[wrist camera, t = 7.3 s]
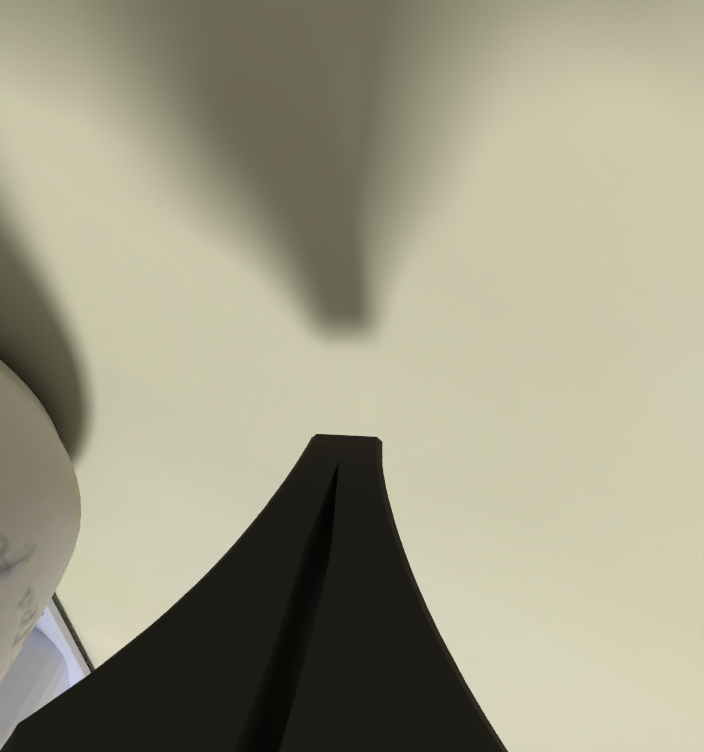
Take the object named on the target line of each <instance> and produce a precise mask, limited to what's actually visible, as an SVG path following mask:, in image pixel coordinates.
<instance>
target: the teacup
mask: <svg viewBox="0 0 704 752" xmlns="http://www.w3.org/2000/svg"><path fill="white" fill-rule="evenodd" d="M80 520H81V499H80V492H79V486H78V481H77V478H76V475H75V472H74V469H73V466H72V463H71V461H70V458H69V455H68V453H67V451H66V450H65V448H64V446H63V444H62V442H61V440H60V439H59V436H58V433H57V431H56V428H55V426H54V424H53V422H52V420H51V419H50V417H49V415H48V414H47V412H46V410H45V408H44V407H43V406H42V404H41V403H40V401H39V400H38V398H37V397H36V396H35V395H34V393H33V392H32V391H31V390H30V388H29V387H28V386H27V385H26V384H25V383H24V382H23V381H22V380H21V379H20V378H19V377H18V376H17V375H16V373H15V372H13V371H12V370H11V369H10V368H9V367H8V366H7V365H6V364H4V363H3V362H2V361H1V360H0V682H1V681H2V679H3V678H4V676H5V674H6V673H7V671H8V670H9V668H10V666H11V665H12V663H13V662H14V660H15V658H16V657H17V655H18V654H19V652H20V650H21V649H22V647H23V646H24V644H25V642H26V640H27V639H28V637H29V635H30V634H31V632H32V630H33V629H34V627H35V625H36V624H37V622H38V620H39V619H40V617H41V615H42V614H43V612H44V610H45V608H46V607H47V605H48V603H49V601H50V600H51V598H52V596H53V594H54V592H55V591H56V589H57V587H58V584H59V582H60V580H61V578H62V576H63V574H64V572H65V570H66V568H67V566H68V564H69V561H70V559H71V556H72V554H73V551H74V548H75V545H76V541H77V537H78V533H79V529H80Z"/></svg>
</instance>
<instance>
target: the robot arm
mask: <svg viewBox="0 0 704 752" xmlns="http://www.w3.org/2000/svg"><path fill="white" fill-rule="evenodd" d="M0 752H508V751H507V749H506V748H505V746H504V745H503V743H502V742H501V740H500V738H499V737H498V735H497V734H496V732H495V730H494V729H493V727H492V726H491V724H490V722H489V721H488V719H487V718H486V716H485V714H484V713H483V711H482V709H481V707H480V706H479V704H478V702H477V701H476V699H475V697H474V696H473V694H472V692H471V690H470V689H469V687H468V685H467V684H466V682H465V680H464V678H463V676H462V674H461V673H460V671H459V669H458V667H457V665H456V663H455V661H454V659H453V658H452V656H451V654H450V652H449V650H448V648H447V646H446V644H445V643H444V641H443V639H442V637H441V635H440V633H439V631H438V629H437V627H436V625H435V623H434V620H433V618H432V616H431V614H430V612H429V610H428V608H427V606H426V603H425V601H424V599H423V596H422V594H421V592H420V590H419V587H418V585H417V583H416V580H415V578H414V575H413V573H412V570H411V568H410V565H409V562H408V560H407V557H406V554H405V551H404V548H403V546H402V543H401V540H400V537H399V534H398V531H397V527H396V524H395V521H394V517H393V513H392V510H391V506H390V502H389V499H388V494H387V490H386V485H385V480H384V474H383V467H382V441H381V440H380V439H378V438H377V437H367V436H347V435H327V434H316V435H315V436H314V437H312V438H311V440H310V442H309V443H308V445H307V447H306V449H305V450H304V452H303V453H302V455H301V457H300V458H299V460H298V461H297V463H296V464H295V466H294V467H293V469H292V470H291V472H290V473H289V475H288V476H287V478H286V479H285V481H284V482H283V483H282V485H281V486H280V487H279V489H278V490H277V491H276V493H275V494H274V496H273V497H272V498H271V500H270V501H269V502H268V504H267V505H266V506H265V508H264V509H263V510H262V511H261V513H260V514H259V515H258V516H257V518H256V519H255V520H254V521H253V522H252V524H251V525H250V526H249V527H248V528H247V530H246V531H245V532H244V533H243V534H242V536H241V537H240V538H239V539H238V540H237V542H236V543H235V544H234V545H233V546H232V547H231V548H230V549H229V550H228V552H227V553H226V554H225V555H224V556H223V557H222V558H221V559H220V560H219V561H218V562H217V563H216V565H215V566H214V567H213V568H212V569H211V570H210V571H209V572H208V573H207V574H206V575H205V576H204V577H203V578H202V579H201V580H200V581H199V582H198V583H197V584H196V585H195V586H194V587H193V588H191V589H190V590H189V591H188V592H187V593H186V594H185V595H184V596H183V597H182V598H181V599H180V600H179V601H178V602H176V603H175V604H174V605H173V606H172V607H171V608H170V609H169V610H168V611H167V612H166V613H164V614H163V615H162V616H161V617H160V618H159V619H158V620H156V621H155V622H154V623H153V624H152V625H151V626H149V627H148V628H147V629H146V630H145V631H143V632H142V633H141V634H140V635H138V636H137V637H136V638H135V639H133V640H132V641H131V642H130V643H128V644H127V645H126V646H125V647H123V648H122V649H121V650H120V651H118V652H117V653H116V654H115V655H113V656H112V657H111V658H109V659H108V660H107V661H106V662H104V663H103V664H102V665H101V666H99V667H98V668H97V669H95V670H94V671H93V672H90V670H89V668H88V666H87V664H86V662H85V660H84V658H83V657H82V655H81V653H80V651H79V649H78V647H77V645H76V643H75V641H74V639H73V638H72V636H71V634H70V632H69V630H68V628H67V626H66V624H65V622H64V620H63V619H62V617H61V615H60V613H59V611H58V609H57V607H56V605H55V603H54V601H53V600H52V598H51V600H50V601H49V603H48V605H47V607H46V608H45V610H44V612H43V614H42V615H41V617H40V619H39V620H38V622H37V624H36V625H35V627H34V629H33V630H32V632H31V634H30V635H29V637H28V639H27V640H26V642H25V644H24V646H23V647H22V649H21V650H20V652H19V654H18V655H17V657H16V658H15V660H14V662H13V663H12V665H11V666H10V668H9V670H8V671H7V673H6V674H5V676H4V678H3V679H2V681H1V682H0Z"/></svg>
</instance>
